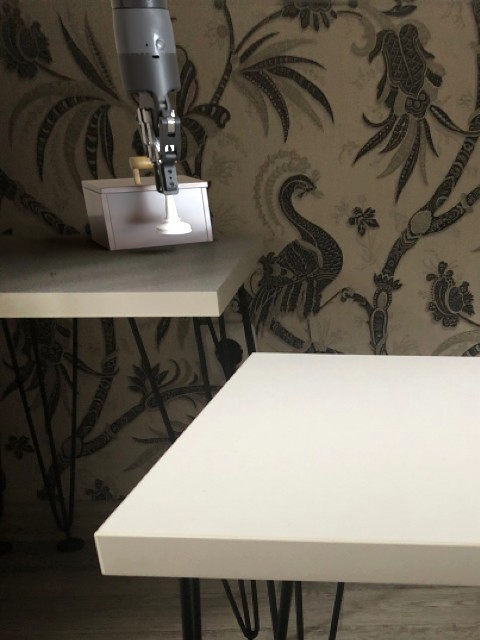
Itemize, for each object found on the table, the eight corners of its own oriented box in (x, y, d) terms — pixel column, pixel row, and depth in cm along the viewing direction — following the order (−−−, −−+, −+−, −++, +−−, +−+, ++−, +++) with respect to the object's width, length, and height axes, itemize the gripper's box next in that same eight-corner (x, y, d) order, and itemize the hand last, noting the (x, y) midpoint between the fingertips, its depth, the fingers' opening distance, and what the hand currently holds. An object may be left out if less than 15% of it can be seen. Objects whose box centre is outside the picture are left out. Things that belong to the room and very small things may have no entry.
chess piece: (161, 228, 133) (150, 152, 128) (195, 228, 133) (185, 152, 128) (151, 234, 129) (139, 156, 124) (186, 234, 129) (175, 156, 124)
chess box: (214, 248, 142) (206, 187, 137) (112, 258, 135) (100, 194, 130) (191, 239, 150) (183, 180, 146) (94, 248, 143) (82, 186, 139)
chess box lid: (208, 187, 137) (204, 154, 134) (101, 194, 130) (95, 160, 128) (183, 180, 146) (178, 149, 144) (82, 186, 139) (76, 154, 137)
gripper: (104, 51, 123) (128, 191, 132) (131, 49, 113) (155, 200, 122) (160, 51, 127) (179, 187, 135) (191, 49, 116) (210, 197, 125)
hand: (168, 193), depth 129 cm, fingers closed on chess piece
